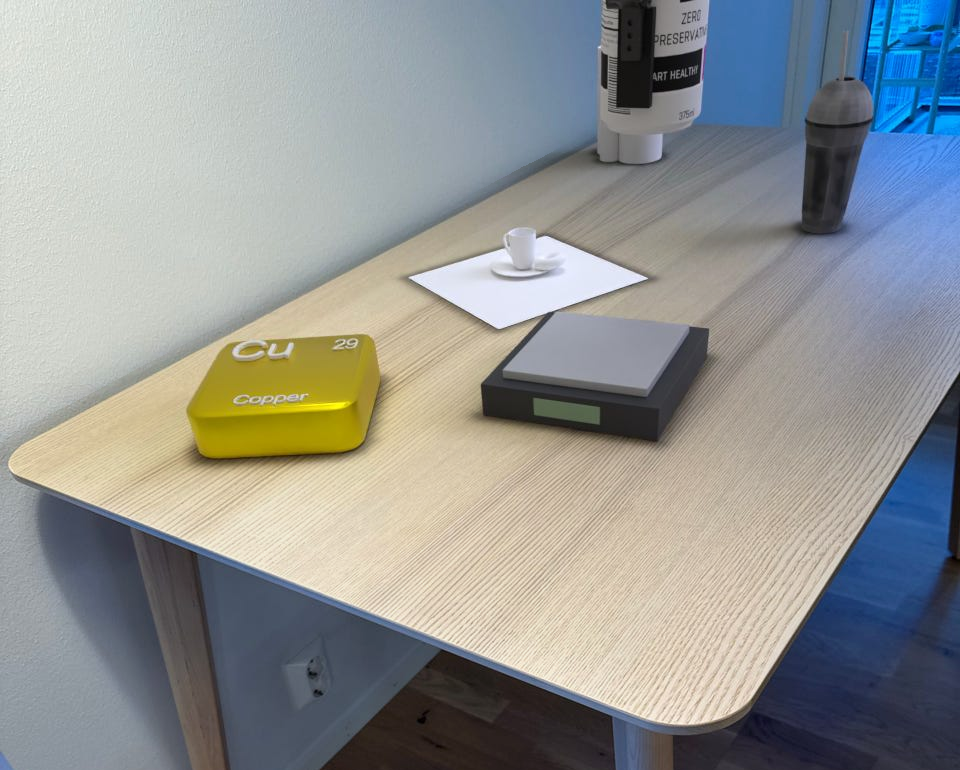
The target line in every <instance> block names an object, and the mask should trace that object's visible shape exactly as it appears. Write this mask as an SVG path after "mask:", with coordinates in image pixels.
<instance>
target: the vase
mask: <svg viewBox="0 0 960 770" xmlns="http://www.w3.org/2000/svg"><path fill="white" fill-rule="evenodd" d="M596 118H597V121H596V122H597V123H596V124H597V125H596V127H597V130H596V131H597V132H596V134H597V135H596V136H597V137H596V138H597V139H596V141H597V142H596V146H597V147H596V152H597V154H598V155H599V161H600V162H603V163H614V162H620V163H623V164H627V165H643V164H651V163H654V162H657V161H659V160H660V159H662V156H663V155H662V154H663V139H664V138H663V137H664V136H663V135H664V134H656V135H629V134H623V133H617V132H615V131H612V130H610V129H609V128H608V126H607V124H606V123H605V122H604V121H603V120H602V119H601V45H599V46H597V117H596Z"/></svg>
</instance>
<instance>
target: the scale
mask: <svg viewBox="0 0 960 770" xmlns="http://www.w3.org/2000/svg"><path fill="white" fill-rule="evenodd" d="M709 336H710V328H709V327H698V326H692V325H691V326H690V324H685V323H674V322H666V321H665V322H664V321H656V320H655V321H654V320H646V319H645V320H644V319H635V318H626V317H618V316H617V317H616V316H604V315H596V314H586V313H577V312H569V311H568V312H566V311H557V310H556V312H555V311H552V312H548V313H546V314H544V316H543V317H542V318H541V319H540V320H539V321H538V322H537V323H536V324H535V325H534V326H533V327H532V329H531V330H530V331H528V333H527V334H526V335H525V336H524V337H523V338H522V339H521V340H520V341H519V342H518V343H517V344H516V346H515V347H514V348H513V349H512V350H511V351H510V352H509V353H508V354H507V355H506V356H505V357H504V358H503V360H502V361H501V362H500V363H499V364H498V365H497V366H496V367H495V368H494V369H493V370H492V371H491V372H490V373H489V375H488V376H486V378H484V380H482V382H481V383H480V392H481V394H480V395H481V405H482V415H484V416H489V417H495V418H502V419H508V420H514V421H521V422H529V423H535V424H541V425H548V426H554V427H561V428H567V429H573V430H574V429H575V430H580V431H581V430H582V431H587V432H592V433H593V432H594V433H600V434H607V435H613V436H620V437H626V438H632V439H633V438H634V439H640V440H647V441H653V442H658V441H659V439H660V437H661V435H662V434H663V432H664V431H665V429H666V427H667V426H668V424H669V422H670V420H671V419H672V418H673V415H674V414H675V412H676V411H677V409H678V408H679V405H680V404H681V402H682V400H683V399H684V397H685V396H686V394H687V392H688V390H689V388H691V385H692V384H693V382H694V381H695V379H696V377H697V375H698V374H699V372H700V370H701V368H702V367H703V366H704V364H705V362H706V360H707V358H708V348H709V338H710V337H709Z"/></svg>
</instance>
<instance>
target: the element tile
mask: <svg viewBox="0 0 960 770" xmlns="http://www.w3.org/2000/svg"><path fill="white" fill-rule="evenodd" d="M378 359H379V358H378V354H377V347H376V343H375V340H374V339H373V337H372V336H370V335H369V334H365V333H356V334H342V335H341V334H340V335H339V334H338V335H323V336H307V337H291V338H290V337H289V338H276V339H274V338H273V339H259V340H258V339H256V340H255V339H254V340H246V341H245V340H242V341H233V342H230V343H227V344H226V345H225V346H224V347H222V348H221V349H220V351H218V353H217V354H216V356H215V358H214V360H213V361H212V363H211V365H210V367H209V368H208V369H207V371H206V373H205V375H204V377H203V378H202V380H201V382H200V384H199V385H198V387H197V389H196V390H195V392H194V394H193V396H191V399H190V401H189V402H188V404H187V406H186V409H185V413H186V416H187V419H188V423H189V425H190V428H191V432H192V434H193V437H194V440H195V443H196V446H197V449H198V452H199V454H200V455H202V457H205V458H209V459H217V460H219V459H221V460H222V459H237V458H238V459H239V458H240V459H241V458H257V457H258V458H259V457H276V456H277V457H278V456H296V455H297V456H298V455H299V456H300V455H318V454H319V455H320V454H336V453H344V452H348V451H352V450H354V449H356V448H359V447H360V445H362V443H363V442H364V441H365V439H366V436H367V433H368V429H369V425H370V421H371V417H372V414H373V410H374V406H375V404H376V403H375V402H376V399H377V395H378V391H379V388H380V384H381V380H382V378H381V373H380V366H379V360H378Z"/></svg>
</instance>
